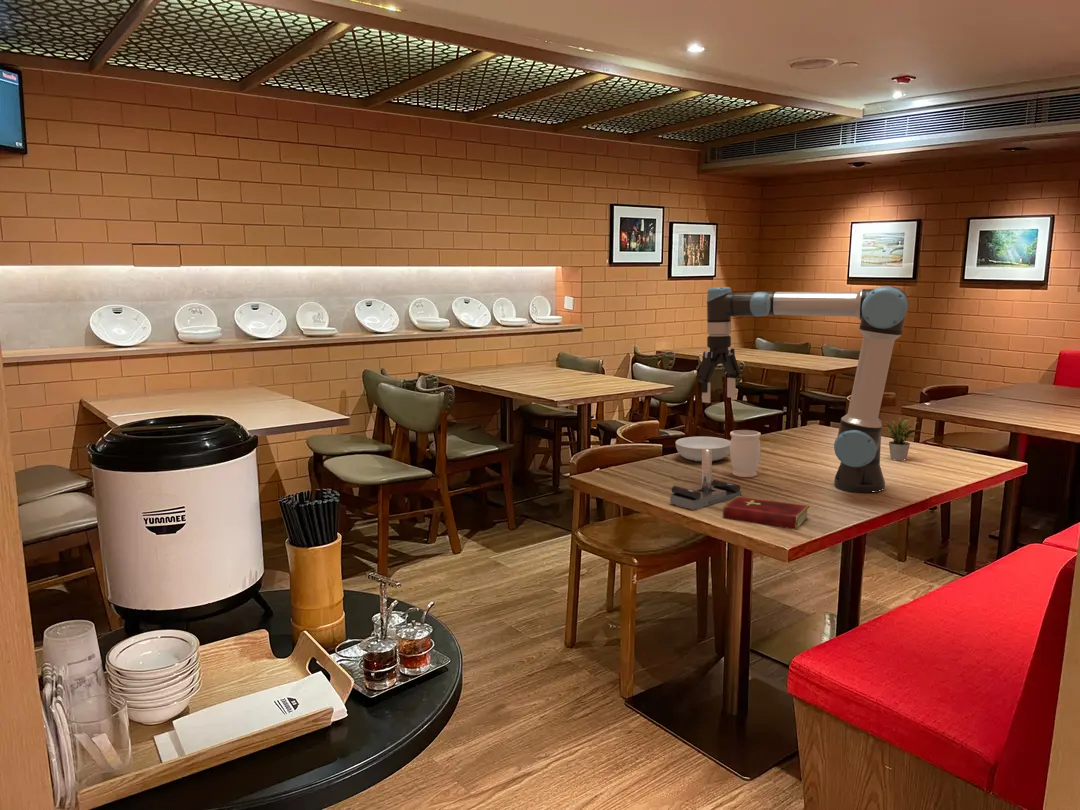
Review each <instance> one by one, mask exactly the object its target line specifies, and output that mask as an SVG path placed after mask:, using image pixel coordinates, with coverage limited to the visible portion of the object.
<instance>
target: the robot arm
mask: <svg viewBox="0 0 1080 810" xmlns="http://www.w3.org/2000/svg"><path fill="white" fill-rule="evenodd" d="M706 296H707V298H706V312H707V313H706V315H707V317H706V320H707V331H706V332H707V333H706V334H707V335H708V336H707V337H706V342H707V343H706V346H707V347H708V349H709V351H704V350H703V351H702V352H703V353H702V361H701V362H700V367H699V370H698V374H697V377H696V381H697V382H699V383H701V402H702V403H704V404H705V403H706V404H710V403H711V382H710V380H711V378H712V376H713V373H714V371H715V369H716V367H718V366H719V365H722V366H723V368H724V371H725V372H726V374H727V376H728V377H727V378H726V380H727V381H726V386H727V387H726V397H727V398H733V399H735V398H736V386H737V379H738V378H740V375H741V371H740V368H739V365H738V362H737V359H736V353H735V348H730V347H731V345H732V336H731V335H730V334H732V317H733V318H734V317H755V318H757V317H766V316H768V315H770V316H771V315H772V316H774V315H775V316H777V315H778V316H808V317H810V316H813V317H814V316H815V317H816V316H817V317H848V318H849V317H850V318H851V317H852V318H855V317H856V318H857V319H858V320H859V321H860V323H859V329H858V330H859V331H860V334H862V342H861V347H860V351H859V356H858V361H857V365H856V370H855V376H854V381H853V386H852V390H851V395H850V399H849V400H850V401H849V404H848V405H849V406H848V408H847V409H848V410H847V413H846V414H845V415H844V416H842V417H841V418H840V423H839V427H838V428H839V429H838V433H837V437H836V438H835V441H834V444H833V450H834V453H835V456H836V458H837V459H838V460H839V461H840V464H839V467H838V469H837V470H836V474H835V477H834V482H833V486H834V485H835V486H834V487H836V488H837V489H839V488H840V489H839V490H842V489H843V491H846V490H848V491H847V492H851V491H856V492H855V493H861V492H872V491H879V490H882V489H884V488H885V489H886V480H885V477H884V474H883V471H882V468H881V443H882V429H883V424H882V422H881V421H882V420H881V419H880V418H879V415H880V410H881V406H882V401H883V396H884V393H885V392H884V391H885V387H886V383H887V377H888V373H889V369H890V368H889V367H890V362H891V360H892V359H891V358H892V354H893V349H894V344H895V341H896V340H897V339H898V338H900V337H902V335H903V330H904V325H905V321H906V317H907V316H906V315H907V314H908V311H909V309H910V308H909V307H910V301H909V297H908V296H907V293H905V291H903V290H902V288H899V287H896V286H892V285H883V286H879V287H876V288H875V287H874V288H862V289H860V290H859V291H857V292H856V291H851V292H850V291H843V292H842V291H839V292H837V291H824V292H823V291H765V290H764V291H763V290H761V291H754V292H732V287H730V286H725V287H724V286H720V287H719V286H717V287H710V288H708V290H707V295H706ZM885 489H884V490H885Z"/></svg>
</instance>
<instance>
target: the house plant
mask: <svg viewBox="0 0 1080 810" xmlns="http://www.w3.org/2000/svg"><path fill="white" fill-rule="evenodd" d="M901 418H902V416H901V415H900V417H899V419H898V424H897V423H896V422H895V421H894V420H892V419H890V421H891V422H892V424H893V426H892V424H890V422H889V421H887V420H886V421H883V420H881V423H882V422H883V423H885V425H886V426H887V427H888V428H889V429H888V430H886V432H888V433H884V434H883V436H884V438H888V437H890V438H892V440H891V441H889V442H888V446H889V456H890V460H891V459H895V460H904V459H906V460H907V458H908V454H909V450H910V445H911V444H910V442H908V441H907V440H909V439H910V438H914V439H915V438H916V439H917V437H918V438H920V436H919V435H918V434H914V433H916V432H922V431H924V430H922V429H911V428H913V427H914V426H915V425H917V424H918V423H919V421H917V422H914V423H912V424H911V425H909V426H907V424H908V422H909V421H910V420H911V418H906V419H904V420H903V422H902V419H901ZM910 429H911V430H910ZM895 460H894V461H895Z"/></svg>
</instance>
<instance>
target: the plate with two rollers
mask: <svg viewBox="0 0 1080 810" xmlns="http://www.w3.org/2000/svg"><path fill="white" fill-rule="evenodd" d="M737 496H741V497H742V491H741V485H740V484H736V483H732V482H728V481H722V480H719V479H713V480H712V491H711V492H710V493H704V492H702V485H701V486H697V487H694V488H690V489H689V488H684V487H682V486H677V485H673V486H672V487H671V494H670V496H669V499H670V500H669V501H670V502H669V503H671V504H675V505H678V506H677V507H679V506H682V507H685V508H684V509H686V508H689V509H691V510H690V511H695V510H694V509H697V510H699V509H698V508H700V509H702V508H701V507H703V508H705V506H706V507H709V506H708V505H710V506H712V505H711V504H713V505H715V503H716V504H719V503H723V502H726V501H728V500H729V501H730V500H732V499H734V498H735V497H737ZM722 501H723V502H722ZM671 504H670V505H671ZM675 505H674V506H675ZM682 507H681V508H682ZM689 509H688V510H689Z"/></svg>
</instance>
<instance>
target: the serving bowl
mask: <svg viewBox="0 0 1080 810" xmlns="http://www.w3.org/2000/svg"><path fill="white" fill-rule="evenodd" d="M730 442H731V440H730V439H725V438H721V437H715V436H689V437H683V438H682V437H681V438H679V439H677V440H675V448H676V450H677V452H678V454H679V455H680V456H681V457H683V458H685V459H687V460H690V461H693V460H694V461H693V462H697V461H702V449H712V462H714V461H718V460H722V459H724V458H725V457H727V456H728V455H729V454H730Z"/></svg>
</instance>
